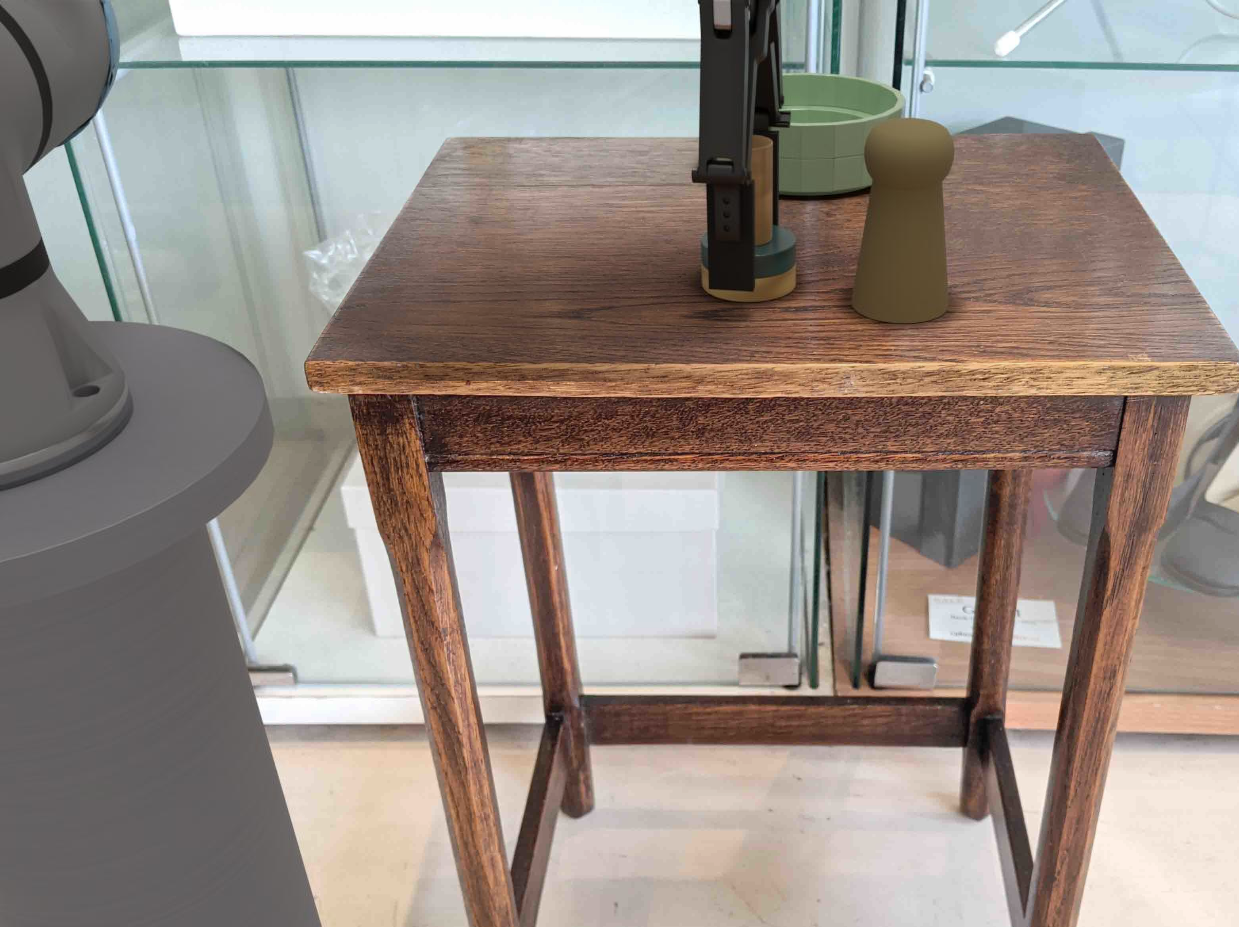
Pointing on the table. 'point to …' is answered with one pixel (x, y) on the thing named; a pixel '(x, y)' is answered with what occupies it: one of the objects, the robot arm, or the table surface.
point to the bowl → (830, 131)
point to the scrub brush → (762, 238)
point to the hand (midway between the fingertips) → (745, 258)
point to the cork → (904, 223)
